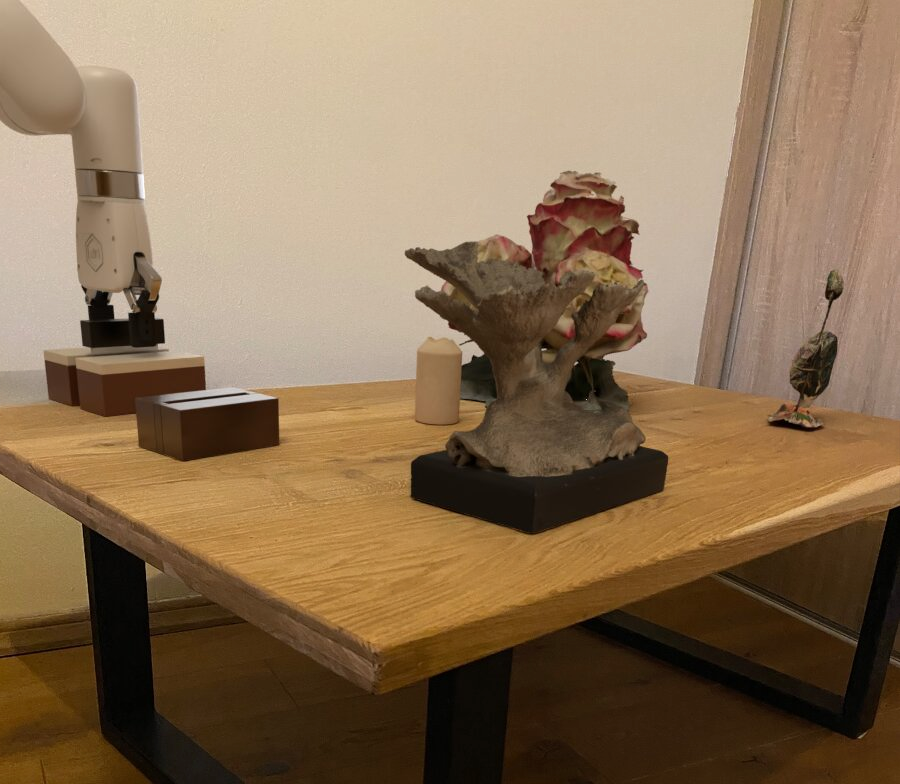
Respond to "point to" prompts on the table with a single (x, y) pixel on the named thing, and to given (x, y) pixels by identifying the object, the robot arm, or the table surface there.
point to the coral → (531, 401)
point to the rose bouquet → (572, 248)
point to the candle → (438, 382)
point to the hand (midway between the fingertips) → (123, 342)
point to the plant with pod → (813, 366)
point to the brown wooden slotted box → (207, 422)
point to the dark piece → (115, 337)
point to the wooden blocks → (119, 378)
